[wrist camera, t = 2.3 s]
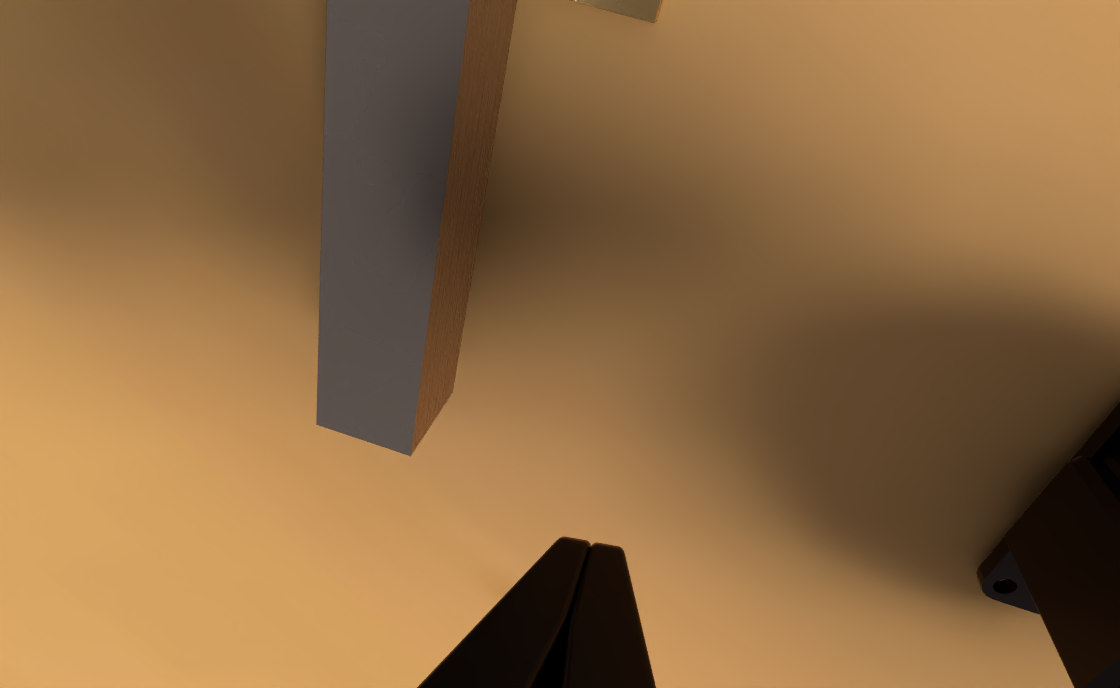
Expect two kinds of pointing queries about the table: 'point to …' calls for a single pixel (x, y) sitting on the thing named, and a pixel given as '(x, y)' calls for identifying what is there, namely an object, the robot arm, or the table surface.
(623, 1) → the plate
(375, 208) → the lock bar
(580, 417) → the table surface
